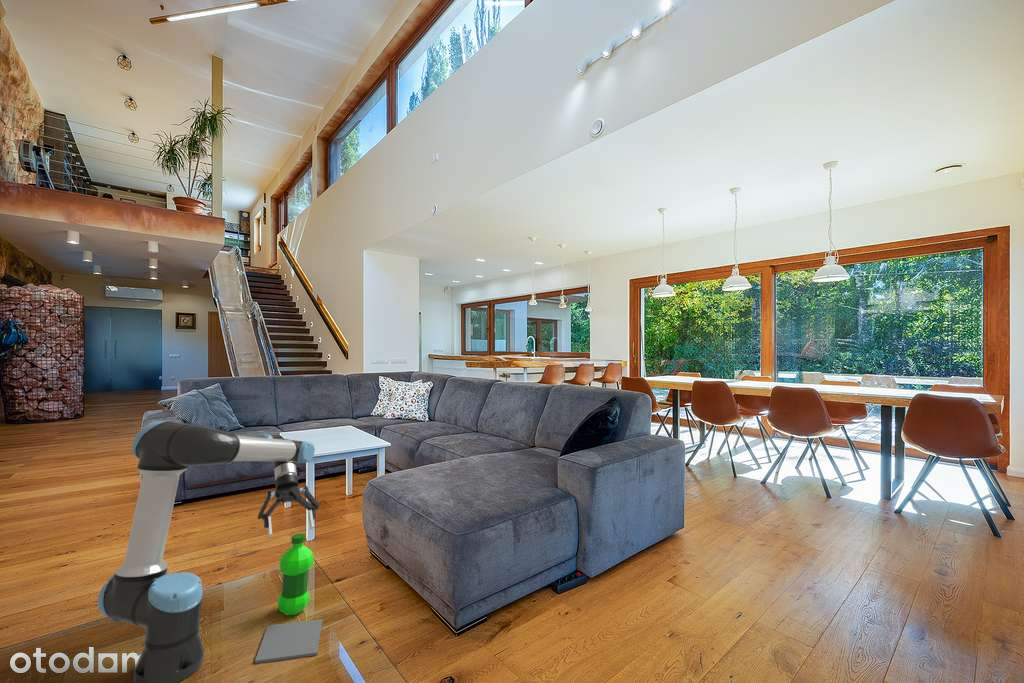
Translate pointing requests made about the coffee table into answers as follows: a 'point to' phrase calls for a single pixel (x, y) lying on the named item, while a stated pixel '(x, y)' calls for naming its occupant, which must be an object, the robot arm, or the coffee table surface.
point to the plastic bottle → (295, 576)
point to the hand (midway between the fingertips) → (291, 532)
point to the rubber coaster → (290, 641)
